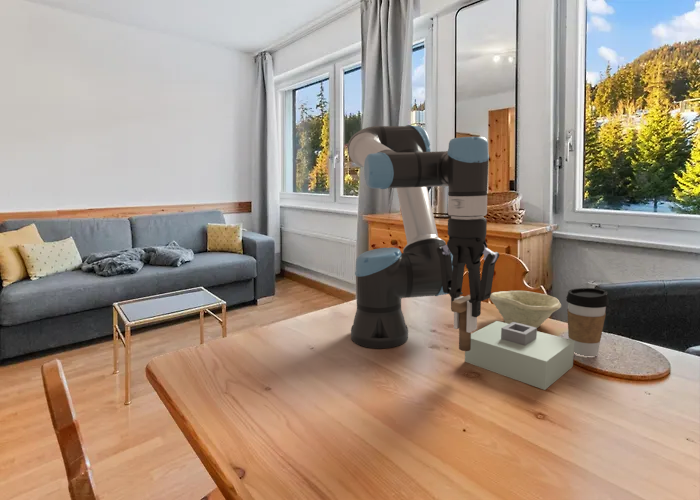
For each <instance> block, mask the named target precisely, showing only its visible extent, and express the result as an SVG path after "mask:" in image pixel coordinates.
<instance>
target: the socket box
mask: <svg viewBox="0 0 700 500" xmlns="http://www.w3.org/2000/svg"><path fill="white" fill-rule="evenodd" d="M574 356H575V355H574V340H570V339H569V338H565V337H563V336H558V335H553V334H550V333H546V332H541V331H538V328H536V327H532V326H528V325H524V324H520V323H516V322H512V323H510V324H507V323H505V322H503V321H500V320H495V321H494V322H491V323H490V324H487V325H486V326H484V327H482V328H480V329H477V330H475V331H473V332H471V350H470V351H464V362H465V363H466V364H467V363H468V364H471V365H473V366H476V367H478V368H482V369H484V370H487V371H490V372H492V373H496V374H498V375H501V376H503V377H504V376H505V377H507V378H509V379H513V380H515V381H518V382H520V383H523V384H527V385H529V386H532V387H536V388H538V389H540V390H544V391H546V390H547V389H548V388H549V387H550V386H552V385H553V384H554V383H555V382H556V381H557V380H559V379H560V378H561V377H562V376H564V374H566V373H567V372H568V371H569V370H570V369H572V368H573V366H574Z"/></svg>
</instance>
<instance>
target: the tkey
mask: <svg viewBox="0 0 700 500" xmlns="http://www.w3.org/2000/svg"><path fill="white" fill-rule="evenodd" d="M469 300H470V294H467V295H466V296H464V297H462V298H460V299H457V300H454V301H452V310H451V312H453V311H454V312H458V313H459V328H458V334H459V335H458V349H459V350H460V351H462V352H465V351H470V350H471V334H472V332H470V333H468V332H466V328H467V301H469ZM454 312H453V313H454Z"/></svg>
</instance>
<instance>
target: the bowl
mask: <svg viewBox="0 0 700 500" xmlns="http://www.w3.org/2000/svg"><path fill="white" fill-rule="evenodd" d="M489 300H490V301H491V302H492V304H494V306H495V308H496V309H497V310H498V312H499V314H500V315H501V317H502V318H503V319H502V320H503V321H504V323H507V324H510V323H512V322H516V323H520V324H524V325H528V326H532V327H536V328H537V329H538V328H539V327H540V326H542V324H543V323H544V322H545V321H547V320H548V319H549V318H550V316H552V314H553V313H555V312H557V311H558V310H559V309H561V308H562V304H561V302H560V300H559V299H558V298H557V297H555V296H552V295H549V294H544V293H540V292H534V291H527V290H508V291H505V290H504V291H503V290H502V291H501V290H500V291H495V292H491V296H490V298H489Z"/></svg>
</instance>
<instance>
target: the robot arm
mask: <svg viewBox="0 0 700 500" xmlns="http://www.w3.org/2000/svg"><path fill="white" fill-rule="evenodd" d="M430 141H431V140H430V137H429V134H428V132H427V131H426V130H425V128H423V127H422V126H420V125H411V124H407V125H404V126H403V125H397V126H396V125H388V126H387V125H376V126H375V125H374V126H369V127H365V128H362V129H360V130H358V131H357V132H356V133H354V134H353V135H352V136H351V137H350V139H349V141H348V144H347V154H348V156H349V158H350V160H351V161H352V163H353V164H355V165H356V166H358V167H361V168H363V171H364V174H363V175H364V180H365V185H366V186H367V187H368V188H369V189H380V190H387V189H396V192H397V196H398V198H397V199H398V201H399V206H400V213H401V217H402V223H403V228H404V233H405V238H406V239H405V240H406V245H405V246H404V247H403V249H402V251H401V249H400V248H398V247H392V246H391V247H379V248H374V249H370V250H367V251H364V252H362V253H360V254H359V255H358V256H357V258H356V260H355V270H354V275H355V288H356V289H355V290H356V295H355V296H356V311H355V314H354V319H353V324H352V326H351V328H350V339H351V341H352V340H353V341H352V342H353V343H354V342H355V343H354V344H356V345H358V346H360V345H361V347H364V348H370V349H387V348H388V349H390V348H395V347H397V346H401V345H403V344H404V343H406V342H407V341H408V340H409V327H408V326H407V324H406V321H405V317H404V313H403V311H402V299H410V298H423V297H439V296H442V295H443V296H444V295H449V296H450V298H451V299H450V309H451V311H452V301H454V300H457V299H460V298H462V297H465V296H463V294H464V292H462V291H463V290H462V289H463V281H464V274H465V273H464V272H465V267H466V269H467V274H468V286H469V295H470V300H469V301H467V328H466V332H468V333H470V332H471V333H473V332H475V331H477V330H478V329H477V328H478V317H480V316H481V315H482V314H481V313H482V311H481V310H482V307H481V306H482V302H484V301H486V300H488V299H490V296H491V294H492V290H493V289H492V288H493V281H494V274H495V267H496V263H497V262H498V259H499V257H500V253H499V252H498V251H495V252H494V251H493V250H491V249H490V248H488V243H487V242H486V237H487V227H488V226H487V223H488V220H487V219H486V217H484V216H487V214H488V182H489V181H488V180H489V179H488V178H489V159H490V154H489V142H488V139H487V138H486V137H484V136H462V137H455V138H452V139H450V140H449V142H448V149H447V150H444V151H431V142H430ZM430 187H434V188H435V187H448V188H447V210H448V211H447V214H448V216H450V217H449V218H448V219H447V235H448V239H447V242H446V241H445V240H444V239H442V238H440V237H439V234H438V229H437V225H436V221H435V220H436V219H435V216H434V212H433V207H432V203H431V198H430V194H429V190H428V188H430ZM402 252H403V253H402ZM482 256H483V258H482ZM481 258H482V259H483V260H484V261H483V263H482V261H481ZM481 263H482V264H483V265H482V264H481ZM481 265H482V270H481ZM452 312H453V329H456V330H459V313H458V312H454V311H452Z"/></svg>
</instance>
